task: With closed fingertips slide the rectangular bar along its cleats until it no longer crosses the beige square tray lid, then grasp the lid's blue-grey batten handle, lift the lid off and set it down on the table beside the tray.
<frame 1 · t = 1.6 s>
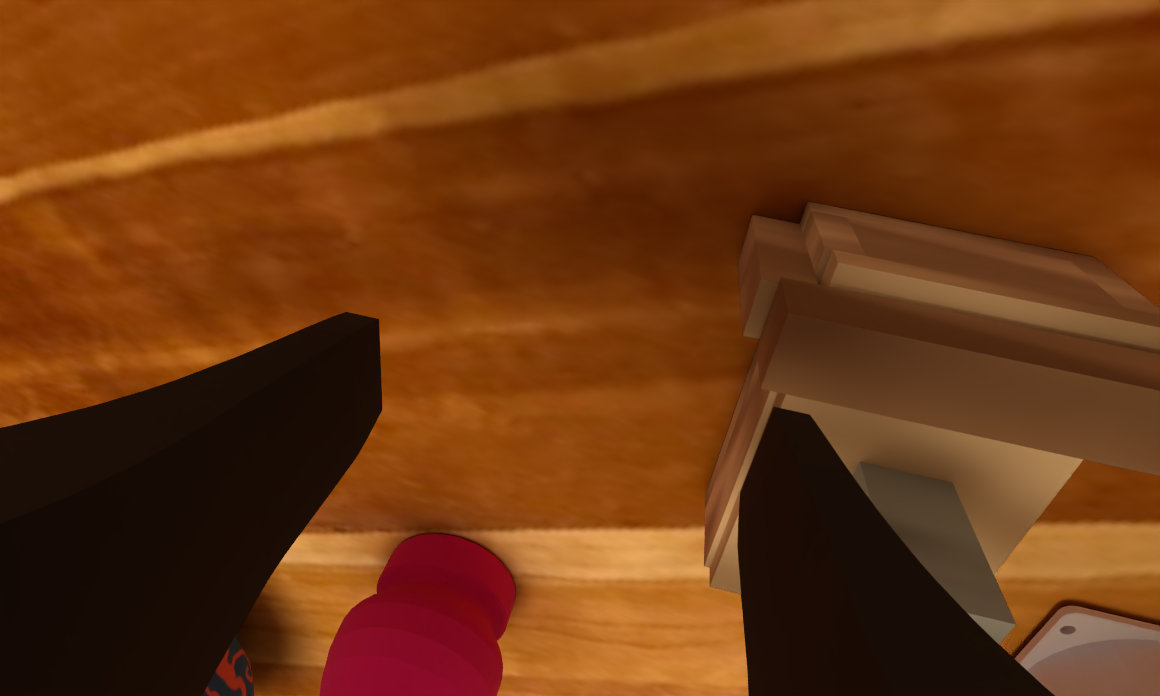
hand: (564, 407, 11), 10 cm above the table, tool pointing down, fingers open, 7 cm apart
pepper mill: (455, 574, 31), on the table
lid: (891, 465, 18), point 3 cm above the table, touching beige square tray
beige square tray: (867, 395, 21), on the table
ceramic pot: (169, 602, 37), on the table
rectangular bar: (993, 379, 14), point 6 cm above the table, slide at 0.0 cm
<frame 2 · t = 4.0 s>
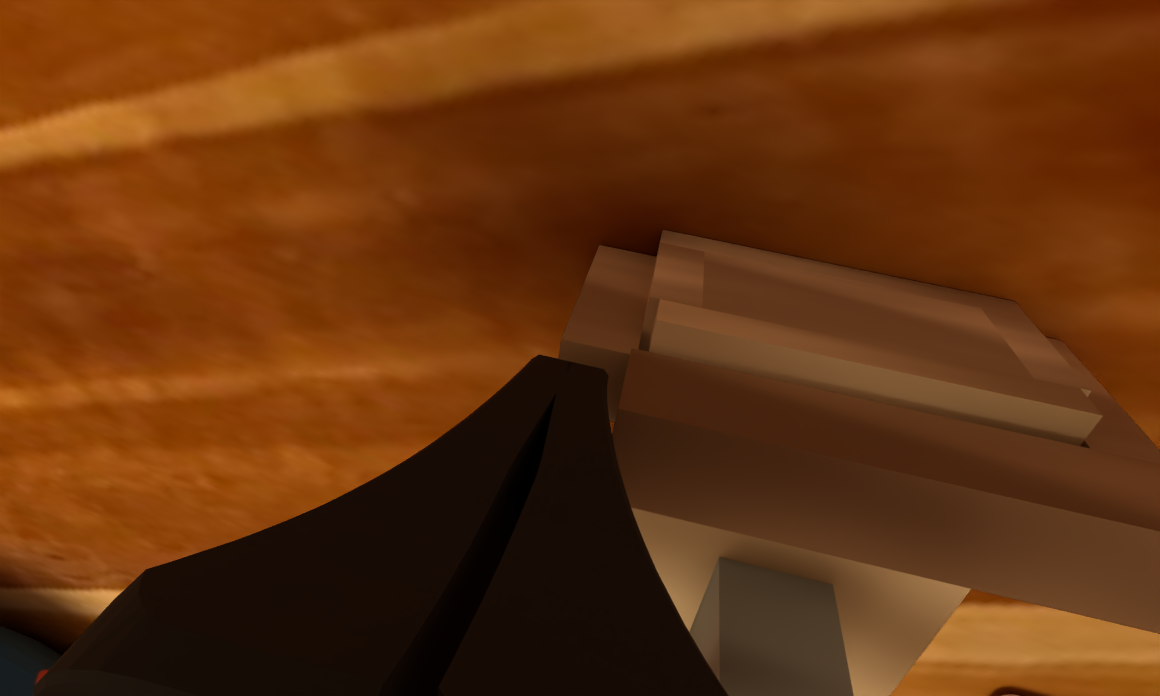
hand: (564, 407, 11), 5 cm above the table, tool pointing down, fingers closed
lid: (766, 556, 15), point 3 cm above the table, touching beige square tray
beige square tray: (758, 457, 18), on the table
ceramic pot: (36, 656, 33), on the table
rectangular bar: (906, 489, 11), point 6 cm above the table, slide at 0.9 cm, touching gripper
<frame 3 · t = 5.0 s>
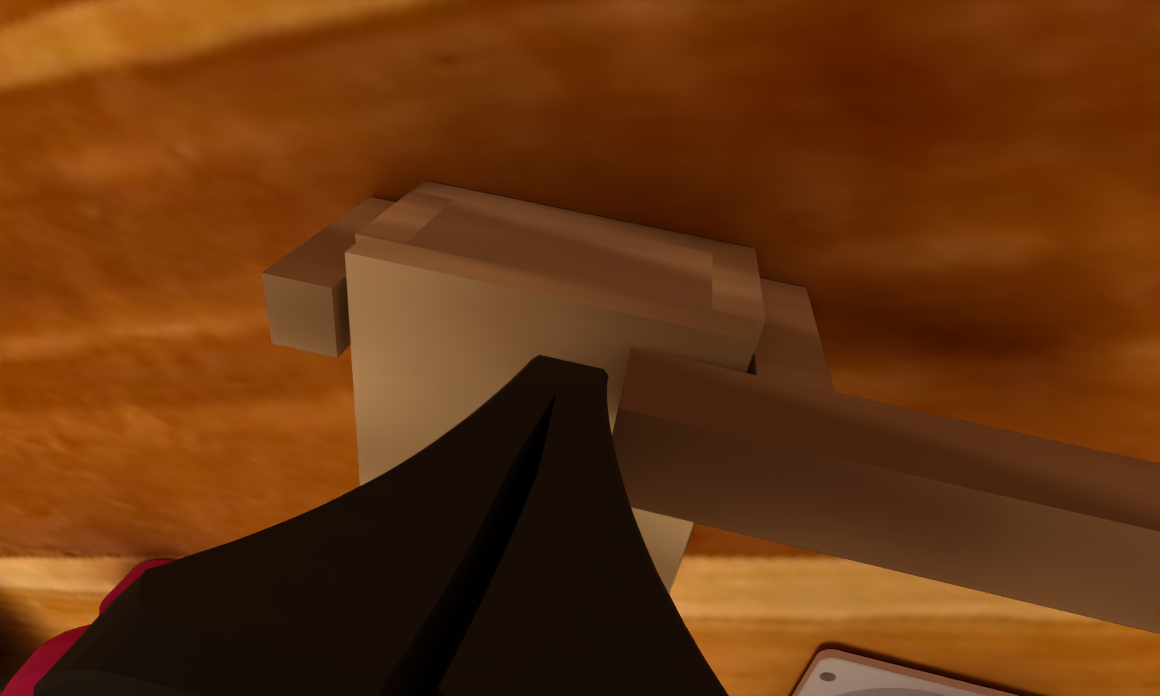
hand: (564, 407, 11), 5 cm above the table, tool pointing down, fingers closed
pepper mill: (202, 603, 28), on the table
lid: (525, 498, 15), point 3 cm above the table, touching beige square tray
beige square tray: (555, 411, 18), on the table
rectangular bar: (906, 489, 11), point 5 cm above the table, slide at 6.7 cm, touching gripper
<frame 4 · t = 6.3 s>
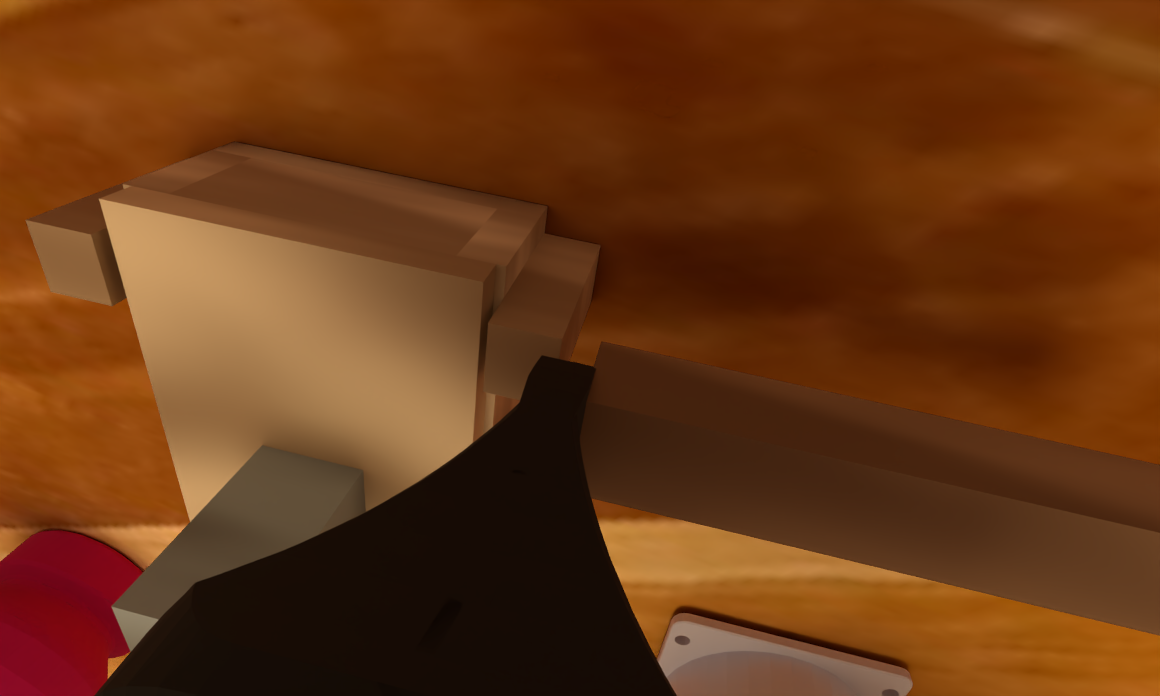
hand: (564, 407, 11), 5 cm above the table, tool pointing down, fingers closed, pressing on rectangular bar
pepper mill: (100, 574, 28), on the table
lid: (331, 451, 16), point 3 cm above the table, touching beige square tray
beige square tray: (392, 373, 19), on the table
rectangular bar: (873, 482, 11), point 6 cm above the table, slide at 11.1 cm, touching gripper
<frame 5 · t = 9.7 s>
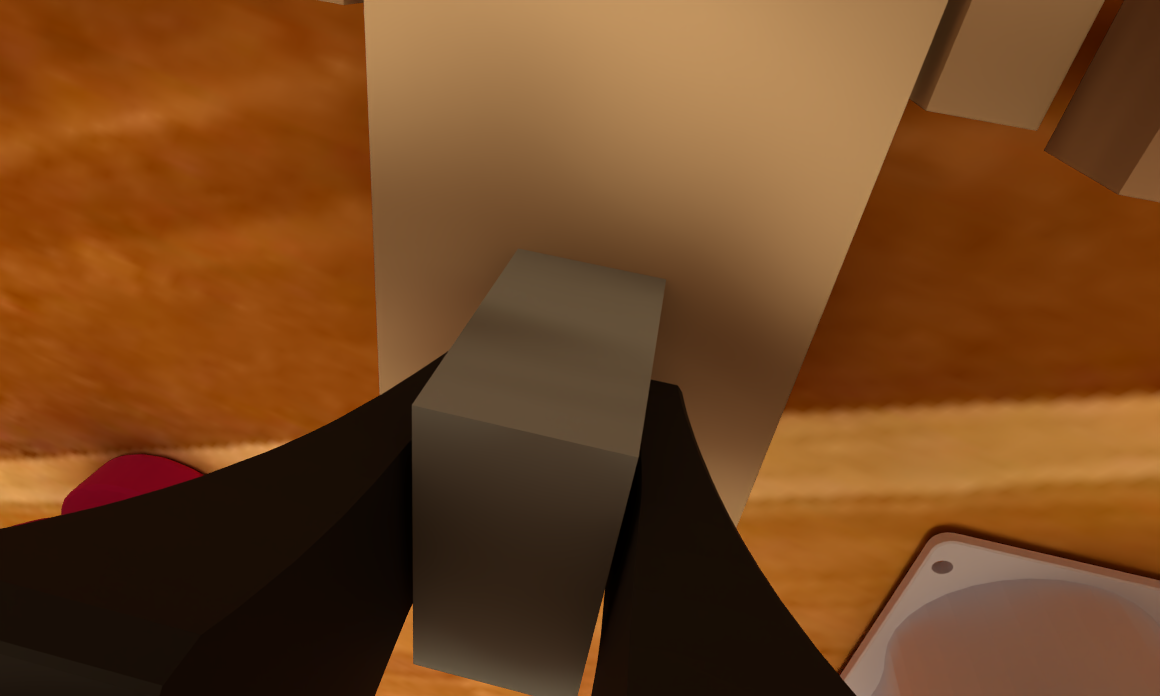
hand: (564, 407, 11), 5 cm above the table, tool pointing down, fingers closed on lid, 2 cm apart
pepper mill: (184, 512, 24), on the table
lid: (594, 270, 11), point 3 cm above the table, touching gripper, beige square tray
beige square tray: (619, 206, 14), on the table
when the fingers open (4 cm above the table, at t = 12.6 s): lid drops 2 cm, on the table.
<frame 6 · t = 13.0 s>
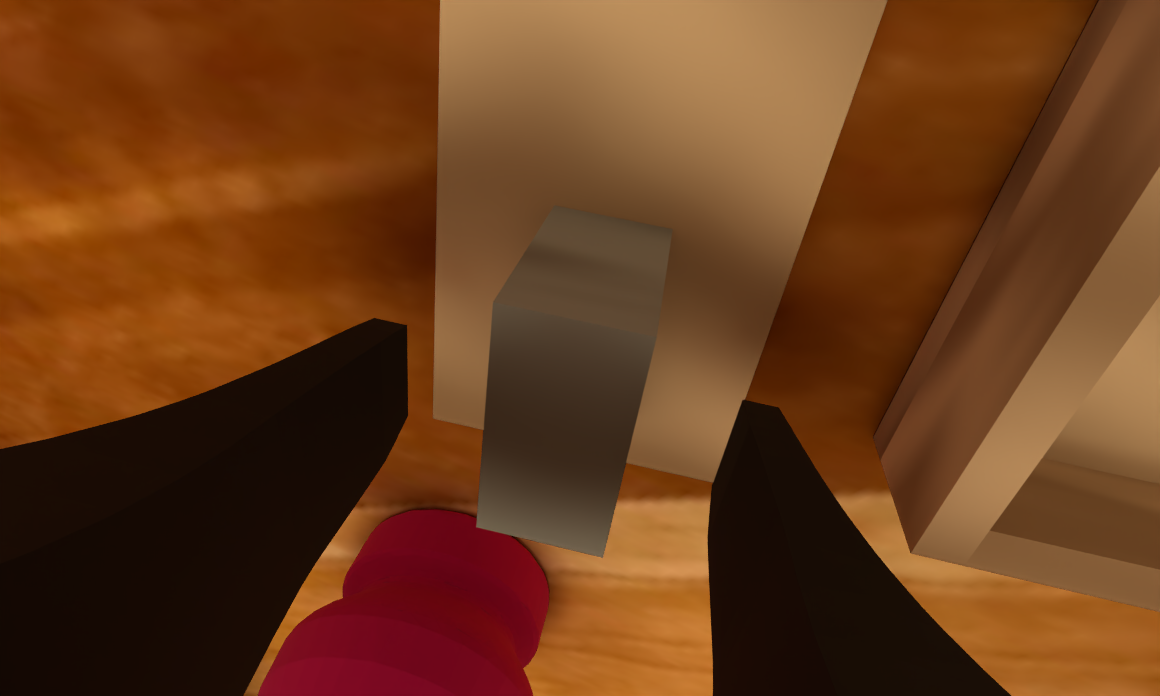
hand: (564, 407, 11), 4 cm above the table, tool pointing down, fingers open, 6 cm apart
pepper mill: (459, 570, 21), on the table
lid: (614, 225, 14), on the table
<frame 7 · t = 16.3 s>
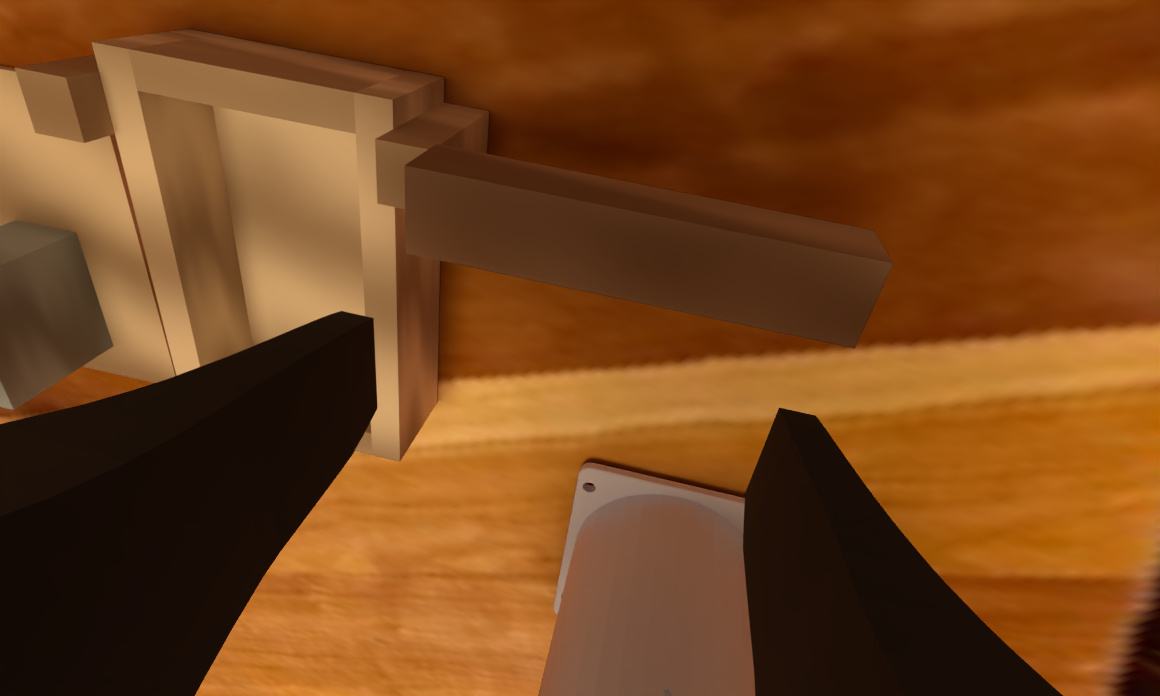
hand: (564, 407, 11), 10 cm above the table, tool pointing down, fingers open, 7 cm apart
lid: (68, 231, 24), on the table
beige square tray: (329, 240, 22), on the table
rectangular bar: (636, 241, 14), point 5 cm above the table, slide at 10.5 cm
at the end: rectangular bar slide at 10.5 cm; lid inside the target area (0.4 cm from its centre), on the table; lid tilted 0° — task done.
